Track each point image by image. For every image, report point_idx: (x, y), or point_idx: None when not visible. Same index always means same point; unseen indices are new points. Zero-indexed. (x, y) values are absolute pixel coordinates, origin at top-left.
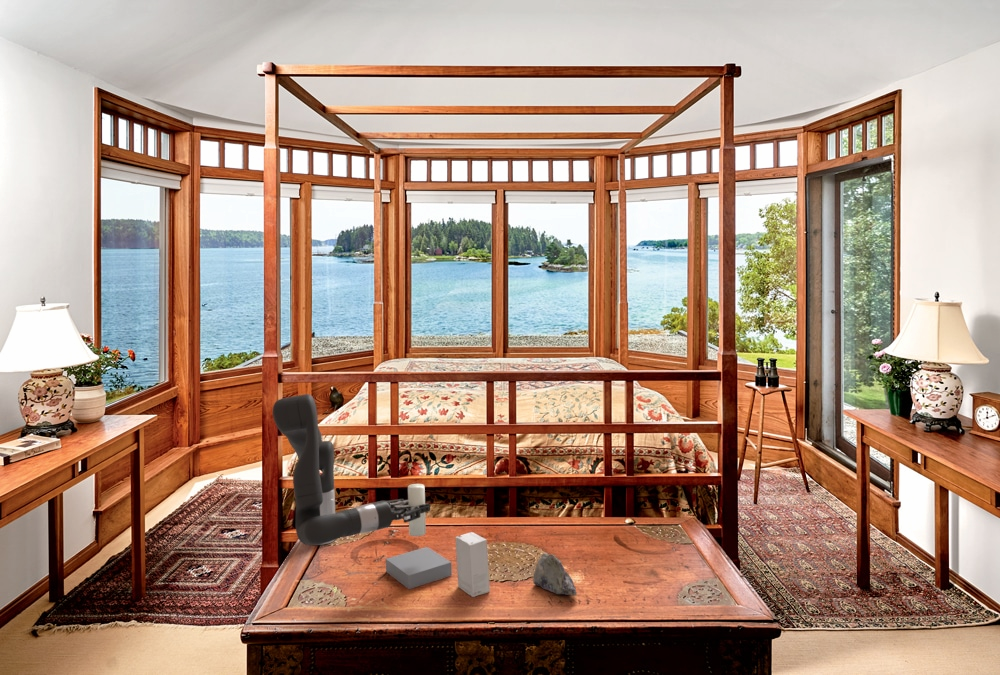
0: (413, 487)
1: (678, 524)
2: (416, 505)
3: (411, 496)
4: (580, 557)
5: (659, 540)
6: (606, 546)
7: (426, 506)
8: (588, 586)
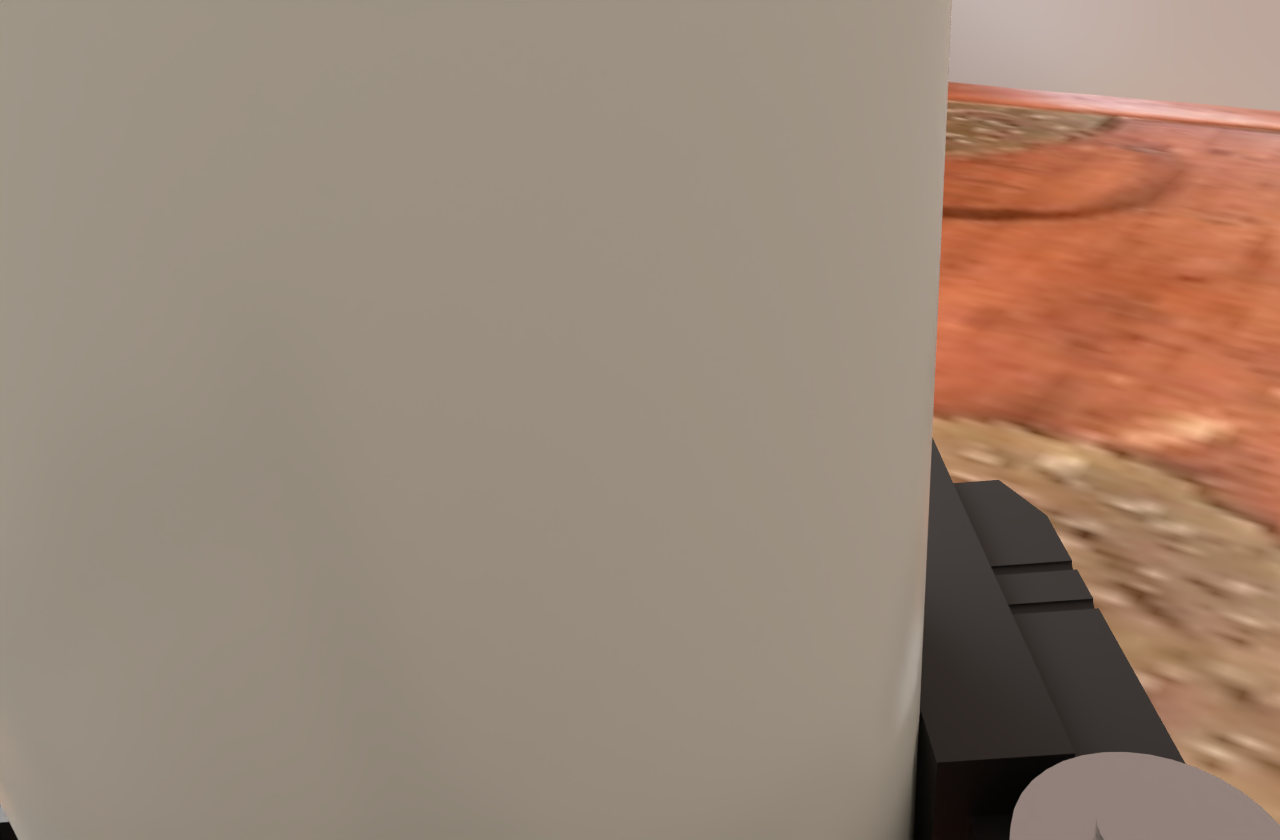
0: None
1: None
2: (898, 808)
3: (619, 478)
4: (1084, 340)
5: (1032, 151)
6: (994, 248)
7: (1042, 555)
8: None
